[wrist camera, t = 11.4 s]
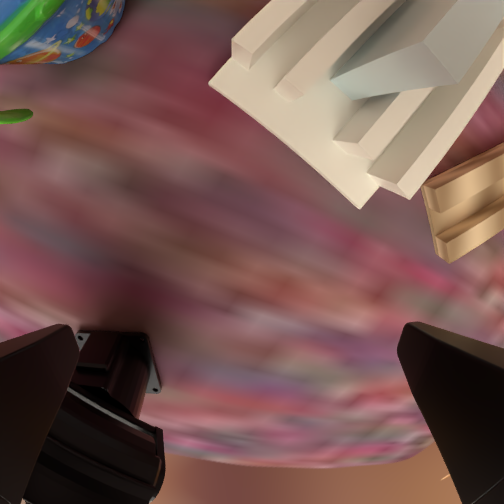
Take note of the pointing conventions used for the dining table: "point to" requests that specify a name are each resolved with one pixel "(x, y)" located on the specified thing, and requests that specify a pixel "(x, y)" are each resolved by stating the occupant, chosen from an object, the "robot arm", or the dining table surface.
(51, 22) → the snack cup
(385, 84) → the pale grey tapered slat
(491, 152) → the stand
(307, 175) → the dining table surface
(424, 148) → the rack
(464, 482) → the robot arm
